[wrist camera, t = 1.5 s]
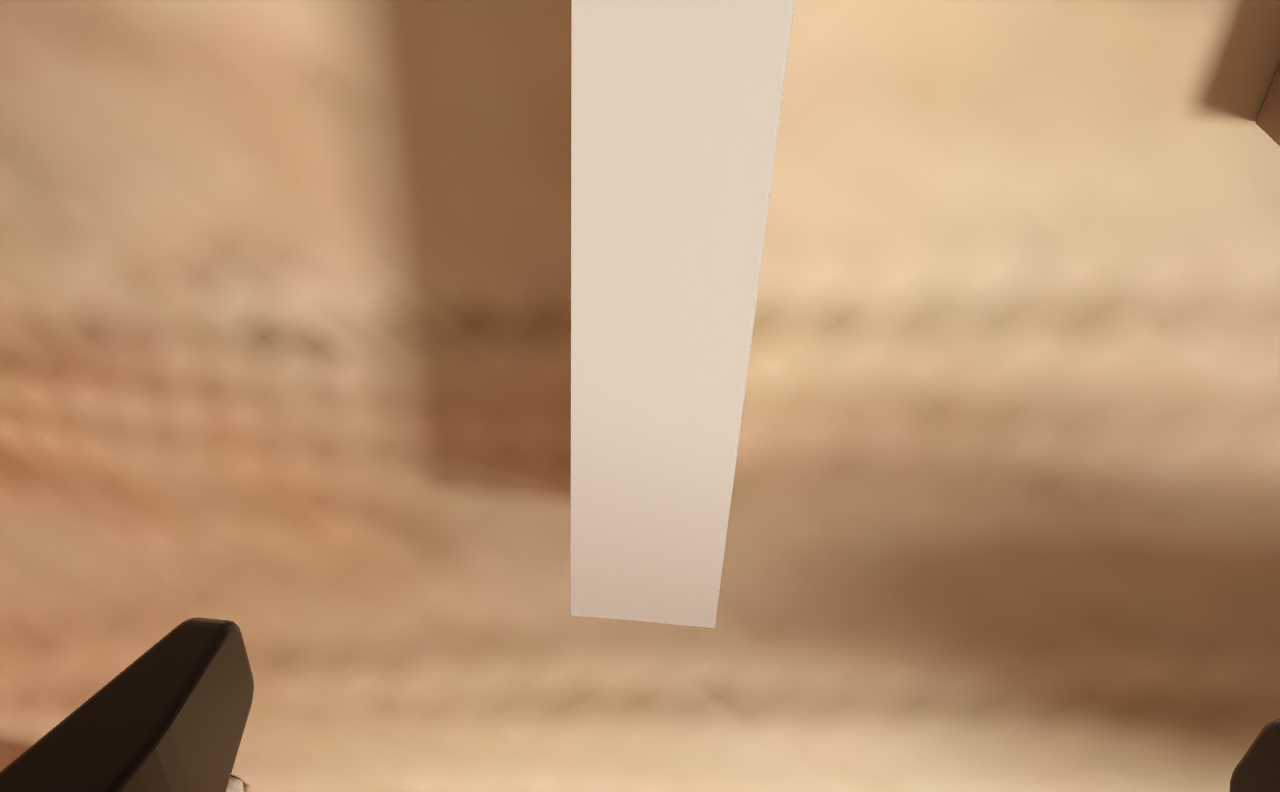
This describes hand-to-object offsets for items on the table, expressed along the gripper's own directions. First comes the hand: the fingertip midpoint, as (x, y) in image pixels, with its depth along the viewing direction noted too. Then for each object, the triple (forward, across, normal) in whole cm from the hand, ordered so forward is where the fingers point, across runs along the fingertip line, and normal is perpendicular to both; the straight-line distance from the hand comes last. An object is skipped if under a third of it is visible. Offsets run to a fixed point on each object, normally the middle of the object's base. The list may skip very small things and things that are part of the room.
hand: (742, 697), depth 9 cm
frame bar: (+13, +1, +1) cm, 13 cm away
